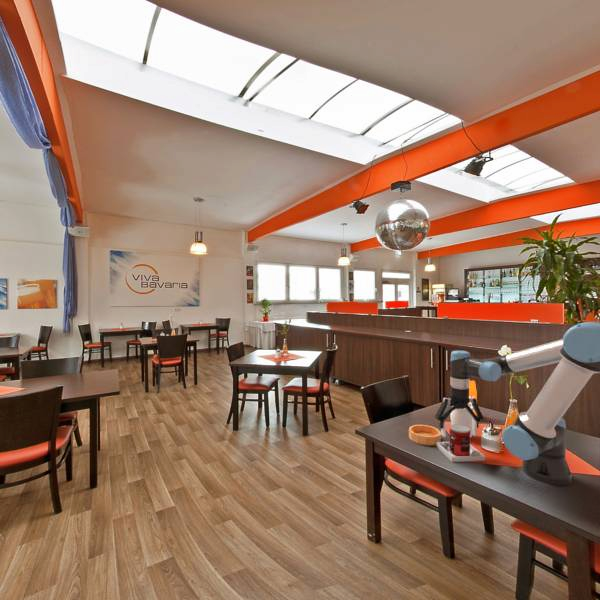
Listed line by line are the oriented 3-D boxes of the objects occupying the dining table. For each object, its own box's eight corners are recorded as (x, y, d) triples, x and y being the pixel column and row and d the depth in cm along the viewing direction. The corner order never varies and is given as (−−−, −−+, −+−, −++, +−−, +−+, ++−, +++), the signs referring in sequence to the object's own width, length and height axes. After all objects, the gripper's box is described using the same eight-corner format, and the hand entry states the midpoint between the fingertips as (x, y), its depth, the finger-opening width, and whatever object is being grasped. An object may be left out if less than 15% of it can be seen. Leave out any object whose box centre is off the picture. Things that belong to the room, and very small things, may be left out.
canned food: (450, 447, 149) (450, 423, 149) (470, 451, 145) (470, 426, 145) (448, 454, 142) (448, 429, 142) (469, 459, 138) (469, 432, 138)
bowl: (446, 445, 151) (446, 436, 151) (416, 446, 151) (416, 437, 151) (432, 432, 165) (432, 424, 165) (404, 433, 165) (404, 425, 165)
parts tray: (485, 461, 137) (485, 456, 137) (451, 462, 136) (451, 457, 136) (466, 445, 151) (466, 441, 151) (436, 446, 150) (436, 442, 150)
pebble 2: (481, 459, 138) (481, 452, 138) (474, 459, 138) (474, 452, 138) (477, 456, 141) (477, 449, 141) (470, 456, 141) (470, 449, 141)
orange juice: (477, 418, 183) (477, 382, 182) (459, 417, 185) (459, 381, 185) (473, 413, 190) (473, 379, 190) (456, 412, 192) (456, 378, 192)
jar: (469, 431, 167) (469, 401, 166) (478, 440, 156) (478, 408, 156) (447, 430, 168) (447, 400, 167) (454, 439, 157) (454, 407, 157)
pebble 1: (449, 449, 146) (449, 443, 146) (442, 450, 146) (442, 443, 146) (446, 446, 149) (446, 440, 149) (439, 447, 149) (439, 440, 149)
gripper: (482, 384, 147) (481, 431, 148) (427, 384, 146) (426, 432, 147) (493, 389, 140) (492, 438, 141) (435, 389, 139) (434, 439, 139)
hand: (458, 435), depth 144 cm, fingers open, 13 cm apart
